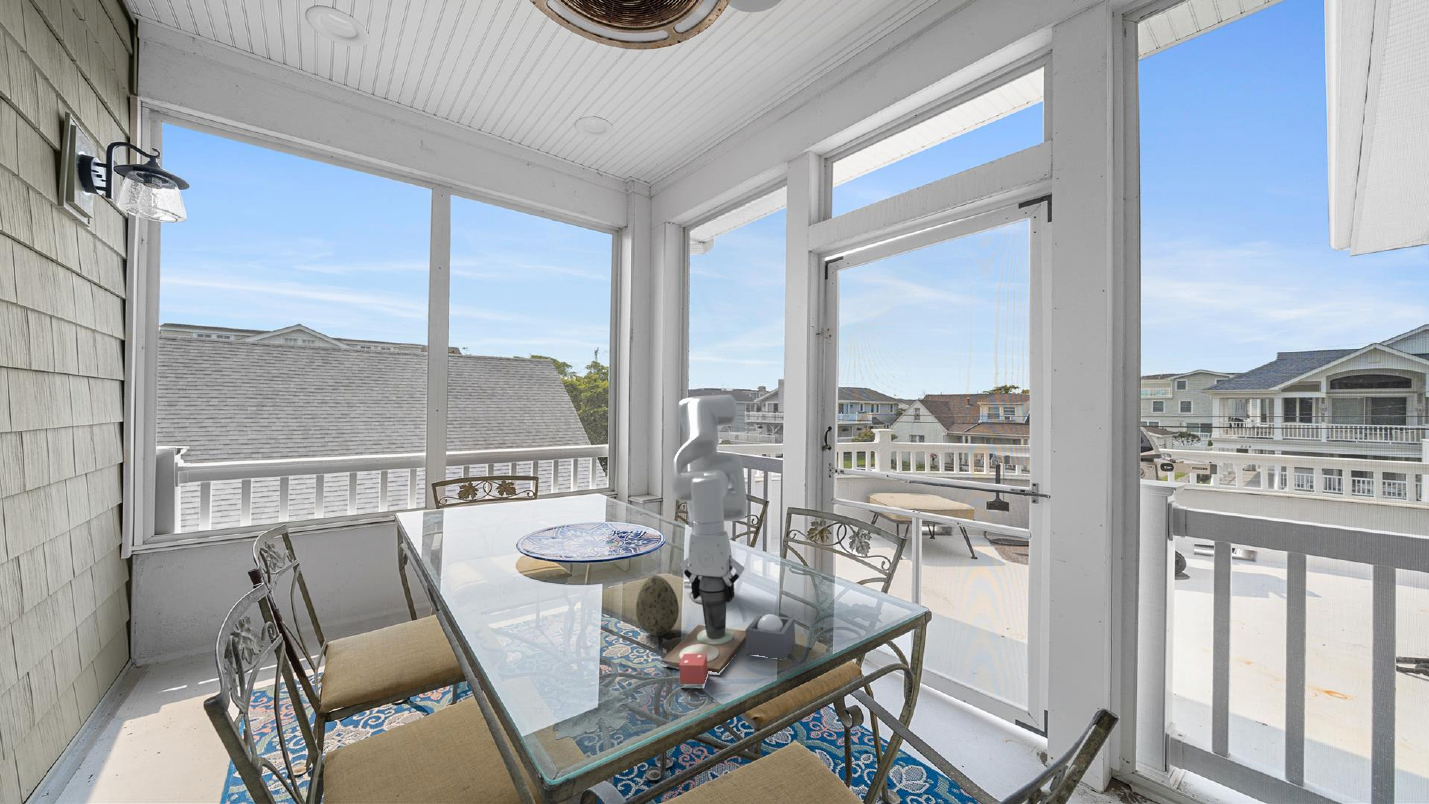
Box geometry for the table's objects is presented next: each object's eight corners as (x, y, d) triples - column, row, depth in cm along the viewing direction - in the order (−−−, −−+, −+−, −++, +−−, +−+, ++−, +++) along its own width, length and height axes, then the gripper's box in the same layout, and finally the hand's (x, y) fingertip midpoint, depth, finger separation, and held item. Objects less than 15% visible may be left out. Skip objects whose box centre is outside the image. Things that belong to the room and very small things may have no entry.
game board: (662, 667, 130) (661, 659, 130) (698, 630, 148) (698, 623, 148) (719, 676, 125) (718, 667, 125) (750, 637, 143) (749, 630, 143)
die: (680, 688, 121) (679, 664, 120) (685, 676, 126) (683, 653, 125) (704, 689, 120) (702, 664, 120) (708, 676, 125) (706, 653, 125)
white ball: (754, 644, 134) (753, 619, 134) (763, 633, 140) (761, 609, 139) (779, 647, 132) (778, 621, 132) (787, 636, 137) (785, 611, 137)
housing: (746, 655, 133) (745, 629, 133) (759, 638, 142) (758, 614, 141) (784, 660, 130) (783, 634, 130) (795, 643, 138) (794, 618, 138)
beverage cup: (700, 629, 144) (696, 550, 144) (729, 627, 145) (725, 548, 145) (701, 642, 137) (697, 558, 137) (732, 639, 138) (728, 556, 137)
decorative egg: (633, 630, 151) (629, 573, 150) (673, 622, 155) (669, 566, 154) (643, 647, 141) (639, 586, 140) (685, 637, 145) (681, 578, 144)
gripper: (669, 529, 140) (674, 601, 141) (736, 533, 133) (741, 608, 134) (683, 521, 147) (687, 590, 147) (748, 524, 140) (752, 596, 141)
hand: (713, 598), depth 141 cm, fingers open, 8 cm apart
